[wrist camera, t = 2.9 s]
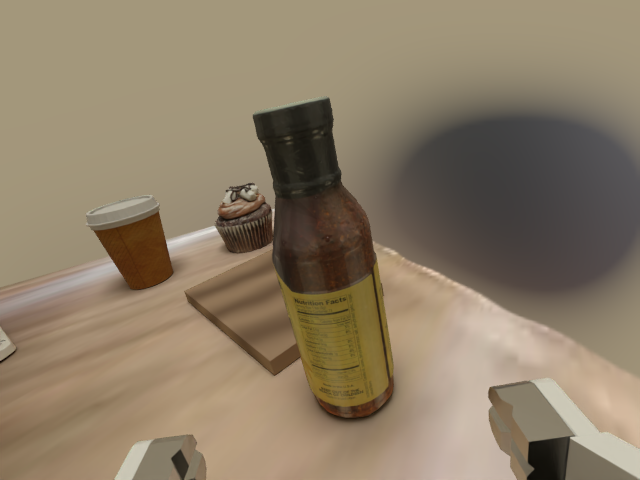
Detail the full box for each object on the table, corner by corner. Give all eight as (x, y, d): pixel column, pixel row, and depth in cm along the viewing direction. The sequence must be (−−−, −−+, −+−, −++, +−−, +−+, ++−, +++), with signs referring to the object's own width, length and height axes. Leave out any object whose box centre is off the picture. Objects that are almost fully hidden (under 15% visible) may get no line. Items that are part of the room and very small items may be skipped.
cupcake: (224, 240, 62) (208, 188, 58) (276, 228, 63) (263, 175, 60) (221, 260, 53) (201, 200, 50) (280, 245, 54) (265, 185, 51)
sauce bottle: (340, 349, 29) (289, 104, 22) (410, 371, 25) (377, 85, 18) (292, 407, 24) (207, 119, 17) (369, 445, 21) (303, 97, 13)
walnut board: (188, 301, 42) (184, 291, 42) (278, 256, 50) (275, 247, 50) (274, 375, 28) (270, 361, 27) (383, 295, 35) (381, 283, 35)
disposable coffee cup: (148, 266, 57) (120, 198, 53) (195, 262, 54) (170, 191, 50) (103, 296, 49) (64, 219, 44) (156, 295, 46) (121, 212, 42)
